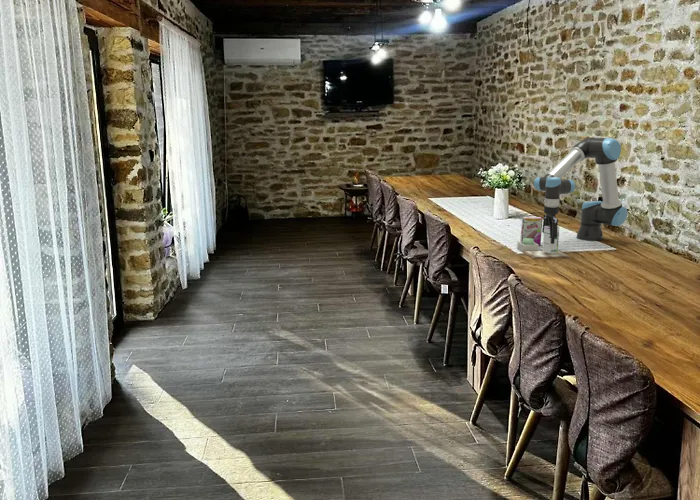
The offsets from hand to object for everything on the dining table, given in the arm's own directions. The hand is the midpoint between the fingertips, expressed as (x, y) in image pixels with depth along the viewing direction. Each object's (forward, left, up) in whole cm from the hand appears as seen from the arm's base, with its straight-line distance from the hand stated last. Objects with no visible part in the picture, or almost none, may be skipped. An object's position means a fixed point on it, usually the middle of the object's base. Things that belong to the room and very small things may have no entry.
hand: (548, 247), depth 333 cm
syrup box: (-1, 0, -3) cm, 3 cm away
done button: (+6, -14, -2) cm, 15 cm away
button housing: (+6, -14, -5) cm, 16 cm away
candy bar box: (-1, -27, -5) cm, 28 cm away
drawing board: (+1, -1, -5) cm, 5 cm away
